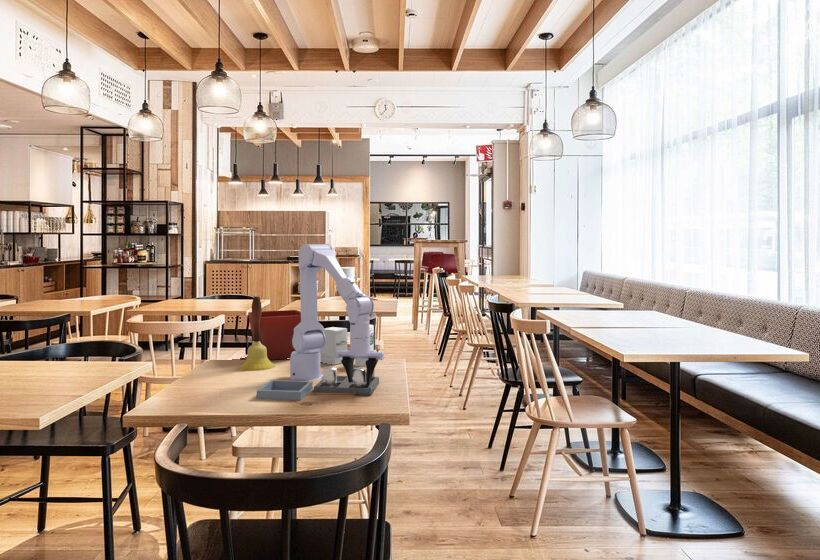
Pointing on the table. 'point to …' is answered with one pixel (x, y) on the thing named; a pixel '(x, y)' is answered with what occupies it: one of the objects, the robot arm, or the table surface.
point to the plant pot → (277, 332)
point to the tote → (285, 390)
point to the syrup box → (361, 361)
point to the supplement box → (333, 345)
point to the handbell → (257, 344)
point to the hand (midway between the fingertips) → (359, 382)
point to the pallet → (348, 386)
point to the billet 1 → (329, 377)
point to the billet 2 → (359, 378)
